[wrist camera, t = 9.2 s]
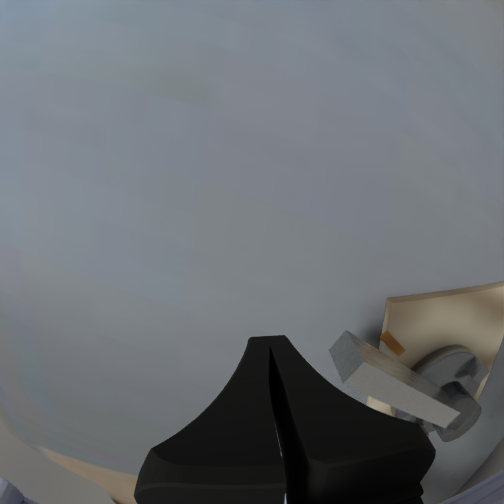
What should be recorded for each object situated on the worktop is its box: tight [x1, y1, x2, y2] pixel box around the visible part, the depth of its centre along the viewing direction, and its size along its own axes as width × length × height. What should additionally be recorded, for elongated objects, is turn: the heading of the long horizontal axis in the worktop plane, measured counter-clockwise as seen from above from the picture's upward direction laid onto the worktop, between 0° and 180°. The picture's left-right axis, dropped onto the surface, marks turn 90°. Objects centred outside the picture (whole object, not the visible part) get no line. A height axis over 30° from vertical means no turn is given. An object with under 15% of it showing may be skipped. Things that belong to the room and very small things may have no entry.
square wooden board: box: [366, 282, 504, 416], centre depth 23 cm, size 16×17×1 cm
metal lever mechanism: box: [329, 330, 490, 442], centre depth 20 cm, size 20×10×6 cm, turn 56°
